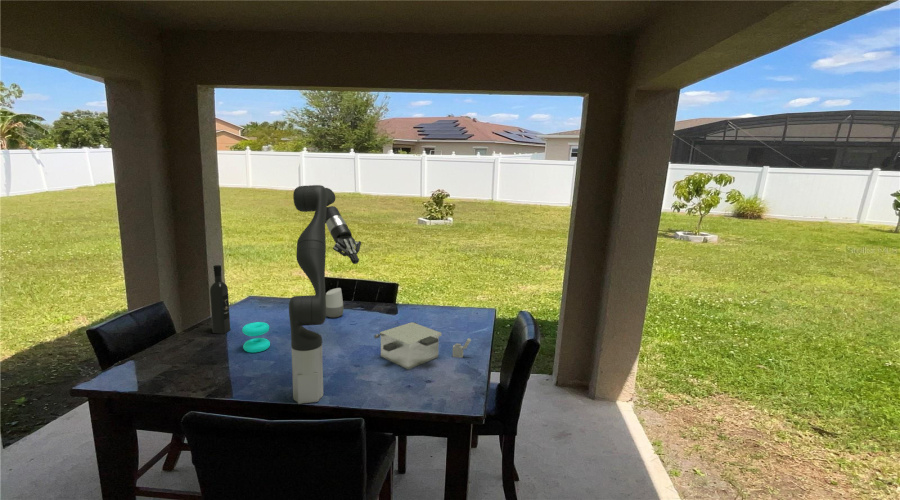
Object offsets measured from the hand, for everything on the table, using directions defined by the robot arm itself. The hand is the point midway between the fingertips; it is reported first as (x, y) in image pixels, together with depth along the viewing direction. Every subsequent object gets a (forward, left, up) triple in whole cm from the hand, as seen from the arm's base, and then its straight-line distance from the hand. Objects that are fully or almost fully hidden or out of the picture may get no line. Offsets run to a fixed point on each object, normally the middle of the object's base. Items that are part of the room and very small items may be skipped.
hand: (356, 262), depth 174 cm
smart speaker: (+44, +7, -36) cm, 57 cm away
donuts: (+9, +39, -36) cm, 54 cm away
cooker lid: (-16, -20, -27) cm, 37 cm away
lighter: (-19, -39, -36) cm, 56 cm away
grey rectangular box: (-14, -19, -36) cm, 43 cm away
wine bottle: (+33, +56, -36) cm, 74 cm away
